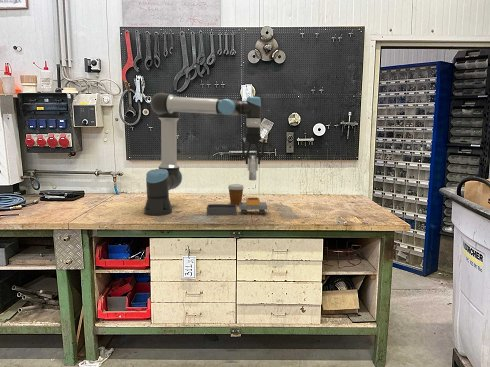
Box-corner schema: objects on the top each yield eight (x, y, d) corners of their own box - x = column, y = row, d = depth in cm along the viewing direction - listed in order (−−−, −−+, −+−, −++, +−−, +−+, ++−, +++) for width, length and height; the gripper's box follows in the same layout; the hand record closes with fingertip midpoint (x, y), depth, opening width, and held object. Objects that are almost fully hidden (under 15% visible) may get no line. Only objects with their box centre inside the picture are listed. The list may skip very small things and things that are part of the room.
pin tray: (206, 215, 201) (206, 207, 201) (207, 211, 210) (207, 204, 210) (236, 215, 202) (236, 207, 201) (236, 211, 211) (236, 204, 210)
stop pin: (249, 180, 202) (249, 156, 200) (248, 179, 206) (249, 155, 204) (256, 180, 202) (256, 156, 200) (255, 179, 206) (256, 155, 204)
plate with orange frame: (239, 215, 202) (239, 200, 201) (239, 211, 211) (239, 197, 210) (267, 214, 203) (267, 200, 201) (265, 211, 212) (265, 197, 210)
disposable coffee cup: (231, 207, 221) (231, 187, 219) (225, 204, 229) (225, 184, 227) (246, 206, 224) (246, 186, 222) (240, 202, 233) (240, 183, 231)
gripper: (237, 126, 195) (237, 171, 199) (270, 126, 196) (269, 171, 200) (237, 126, 203) (236, 169, 207) (268, 126, 203) (267, 169, 207)
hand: (252, 170), depth 203 cm, fingers closed on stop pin, 4 cm apart
